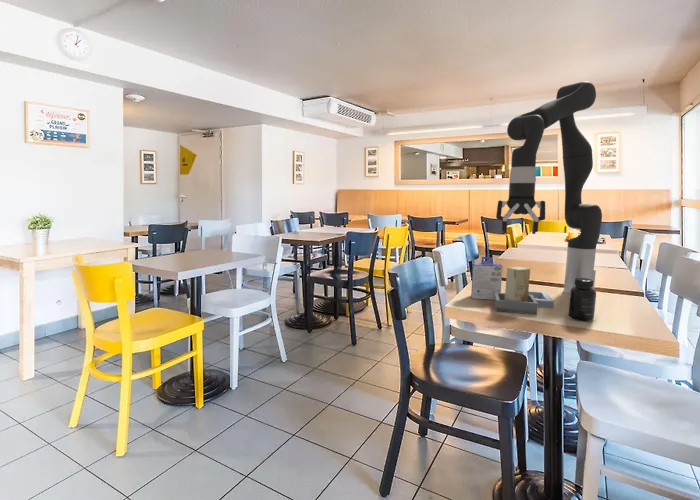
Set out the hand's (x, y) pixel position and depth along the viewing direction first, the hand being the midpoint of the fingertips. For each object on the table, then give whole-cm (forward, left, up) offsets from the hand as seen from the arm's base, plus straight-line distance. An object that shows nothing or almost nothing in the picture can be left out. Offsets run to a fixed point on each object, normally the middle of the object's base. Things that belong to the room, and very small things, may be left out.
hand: (519, 233), depth 131 cm
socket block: (-6, -10, -24) cm, 27 cm away
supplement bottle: (-18, +7, -24) cm, 31 cm away
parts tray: (0, +2, -24) cm, 24 cm away
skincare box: (0, +1, -23) cm, 23 cm away
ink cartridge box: (+9, -10, -24) cm, 28 cm away
